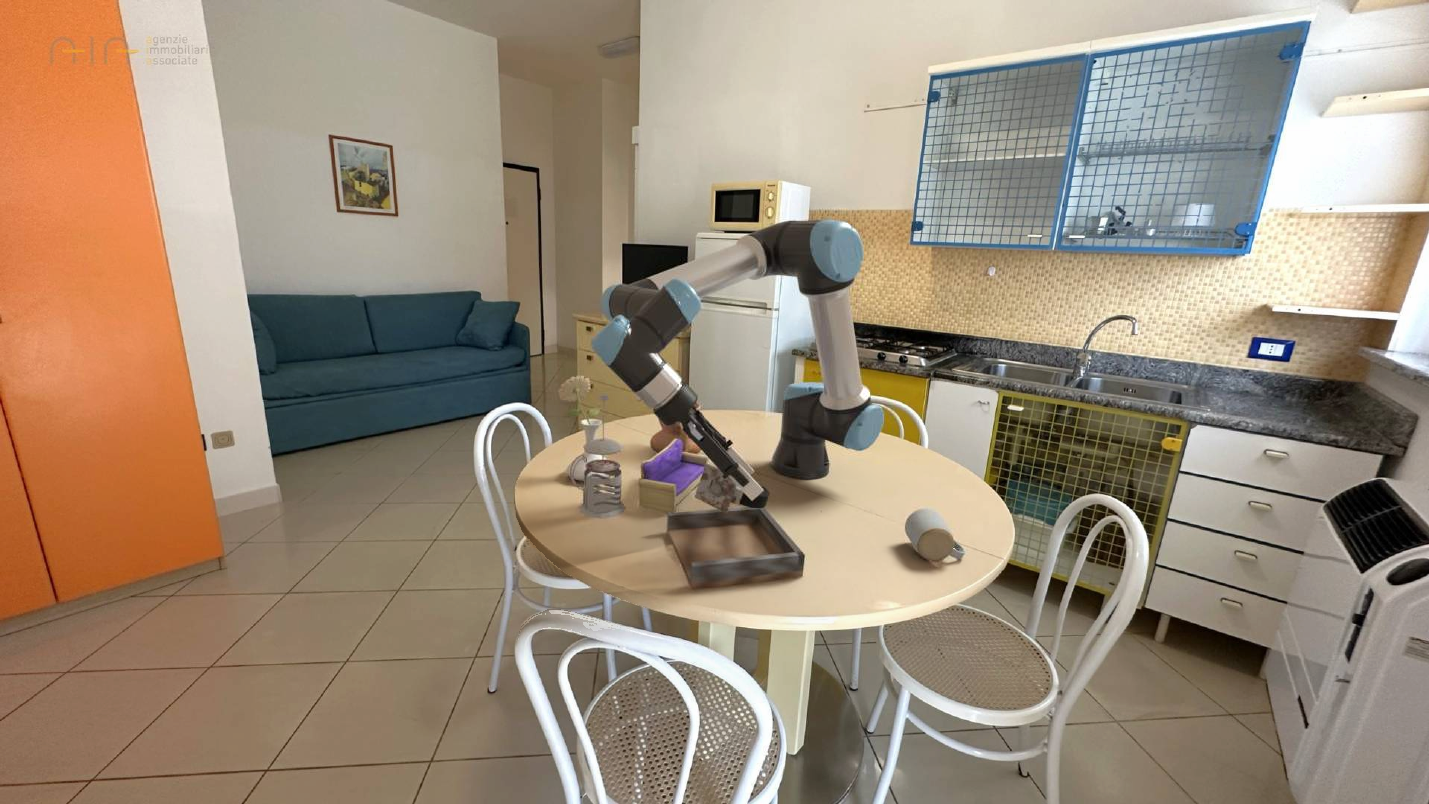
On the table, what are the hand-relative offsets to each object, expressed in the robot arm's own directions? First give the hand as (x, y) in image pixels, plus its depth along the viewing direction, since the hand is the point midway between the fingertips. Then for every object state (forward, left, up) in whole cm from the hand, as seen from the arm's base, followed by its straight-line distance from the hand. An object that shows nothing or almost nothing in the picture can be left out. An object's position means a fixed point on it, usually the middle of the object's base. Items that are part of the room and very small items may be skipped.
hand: (752, 484), depth 103 cm
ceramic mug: (-36, +6, -14) cm, 39 cm away
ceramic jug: (+1, -55, -14) cm, 56 cm away
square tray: (+3, -1, -14) cm, 14 cm away
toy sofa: (+7, -29, -14) cm, 33 cm away
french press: (+25, -24, -14) cm, 37 cm away
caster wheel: (+3, -1, -4) cm, 5 cm away
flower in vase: (+26, -42, -14) cm, 51 cm away
